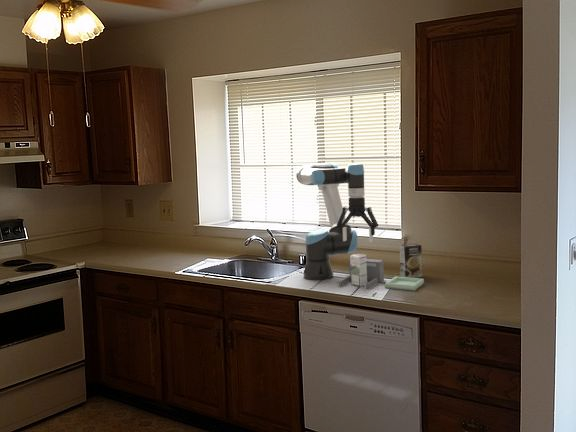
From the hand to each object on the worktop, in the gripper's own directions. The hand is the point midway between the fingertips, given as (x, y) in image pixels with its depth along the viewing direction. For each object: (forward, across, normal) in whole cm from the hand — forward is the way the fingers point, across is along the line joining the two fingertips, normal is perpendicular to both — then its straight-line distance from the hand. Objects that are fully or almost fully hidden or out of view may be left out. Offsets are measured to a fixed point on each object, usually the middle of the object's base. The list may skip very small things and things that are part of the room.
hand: (357, 241), depth 288 cm
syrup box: (+21, 0, 0) cm, 21 cm away
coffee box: (+21, +18, +23) cm, 36 cm away
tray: (+21, +21, +5) cm, 30 cm away
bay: (+21, 0, +3) cm, 21 cm away
